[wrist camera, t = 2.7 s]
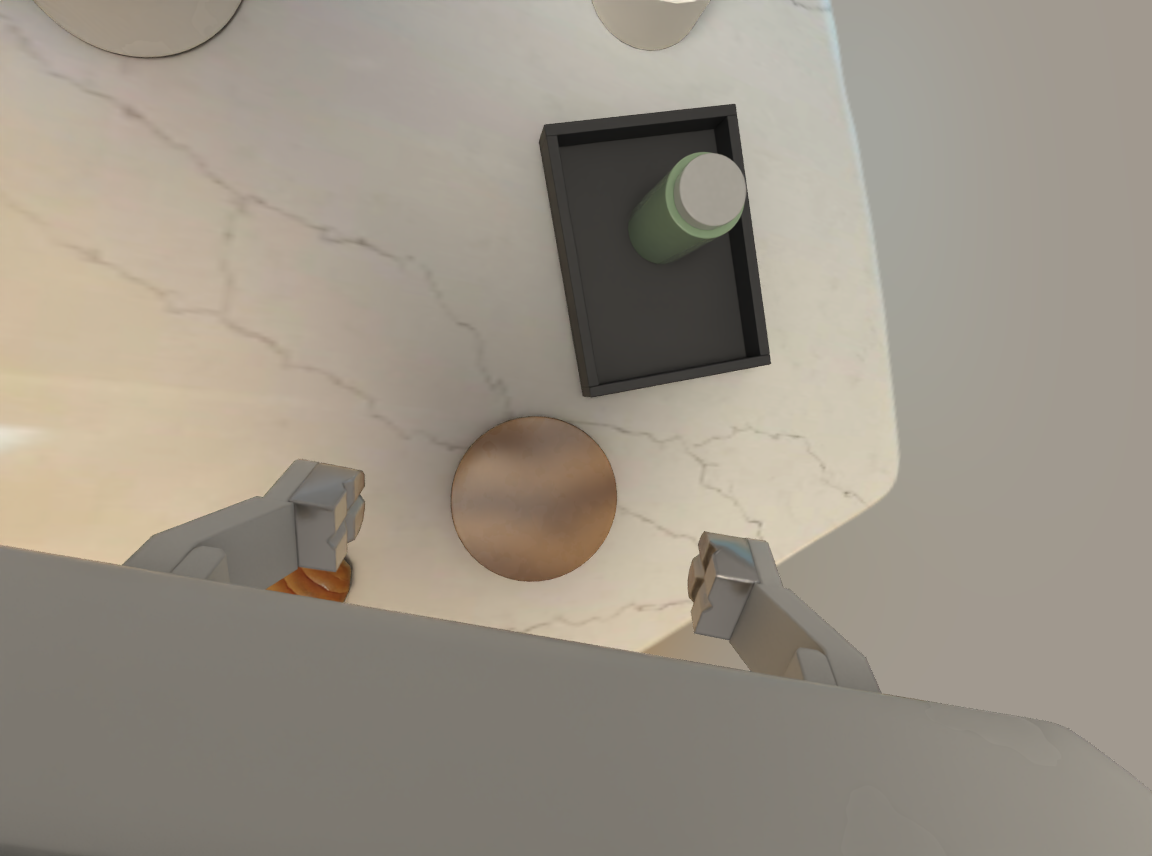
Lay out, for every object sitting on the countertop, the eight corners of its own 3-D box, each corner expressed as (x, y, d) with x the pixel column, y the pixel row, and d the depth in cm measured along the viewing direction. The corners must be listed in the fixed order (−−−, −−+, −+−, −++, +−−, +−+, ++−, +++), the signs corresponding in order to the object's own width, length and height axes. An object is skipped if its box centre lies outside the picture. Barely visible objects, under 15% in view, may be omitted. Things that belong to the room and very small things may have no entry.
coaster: (435, 433, 46) (435, 434, 46) (600, 402, 49) (602, 402, 48) (468, 595, 48) (468, 598, 47) (626, 558, 50) (629, 561, 49)
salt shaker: (622, 198, 47) (665, 149, 37) (688, 189, 48) (747, 139, 38) (634, 269, 48) (679, 239, 38) (698, 259, 48) (759, 227, 38)
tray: (538, 141, 46) (544, 124, 43) (718, 120, 48) (735, 103, 45) (582, 396, 48) (590, 397, 45) (753, 364, 51) (771, 364, 48)
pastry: (309, 523, 45) (296, 536, 42) (377, 583, 47) (369, 601, 43) (214, 615, 45) (191, 637, 41) (285, 673, 46) (270, 699, 42)
